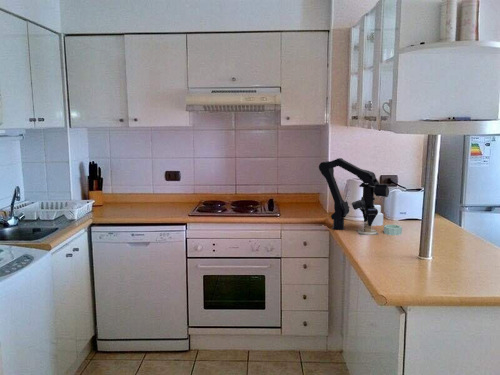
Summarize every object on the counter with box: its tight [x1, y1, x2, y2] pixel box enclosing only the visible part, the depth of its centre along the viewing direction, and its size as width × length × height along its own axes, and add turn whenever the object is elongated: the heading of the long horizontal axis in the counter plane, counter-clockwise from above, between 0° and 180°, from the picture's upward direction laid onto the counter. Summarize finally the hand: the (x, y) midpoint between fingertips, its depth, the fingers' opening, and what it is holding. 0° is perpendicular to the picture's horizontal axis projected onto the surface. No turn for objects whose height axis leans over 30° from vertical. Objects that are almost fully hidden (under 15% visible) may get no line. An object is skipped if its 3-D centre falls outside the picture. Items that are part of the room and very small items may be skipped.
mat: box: [356, 229, 380, 236], centre depth 236 cm, size 10×10×1 cm
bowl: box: [383, 224, 403, 236], centre depth 234 cm, size 9×9×4 cm
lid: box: [357, 222, 378, 236], centre depth 236 cm, size 10×10×5 cm
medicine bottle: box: [366, 203, 384, 227], centre depth 254 cm, size 7×7×12 cm
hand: (367, 224), depth 236 cm, fingers open, 9 cm apart
